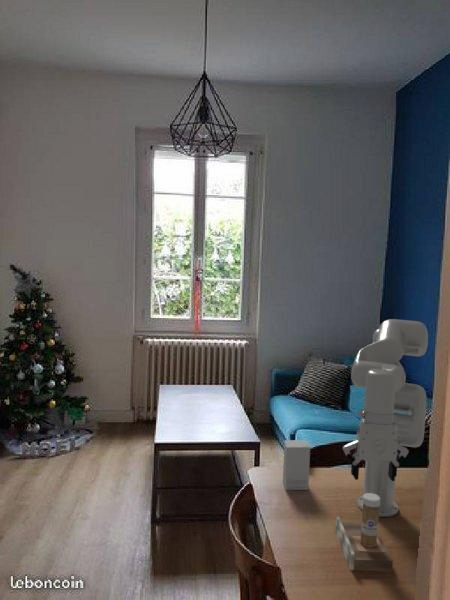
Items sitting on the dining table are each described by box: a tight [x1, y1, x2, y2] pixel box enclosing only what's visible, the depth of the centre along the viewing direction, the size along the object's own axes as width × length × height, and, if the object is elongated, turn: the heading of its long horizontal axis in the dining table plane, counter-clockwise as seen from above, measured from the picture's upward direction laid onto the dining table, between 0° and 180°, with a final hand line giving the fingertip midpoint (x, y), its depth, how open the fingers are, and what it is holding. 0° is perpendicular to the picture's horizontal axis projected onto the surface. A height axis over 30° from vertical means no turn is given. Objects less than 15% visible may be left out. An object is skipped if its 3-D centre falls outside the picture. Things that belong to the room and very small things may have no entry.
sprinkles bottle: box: [360, 493, 380, 548], centre depth 139 cm, size 5×5×13 cm
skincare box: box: [282, 439, 311, 491], centre depth 177 cm, size 8×7×16 cm
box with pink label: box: [334, 516, 394, 573], centre depth 142 cm, size 18×11×4 cm, turn 0°
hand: (373, 478), depth 138 cm, fingers open, 9 cm apart
